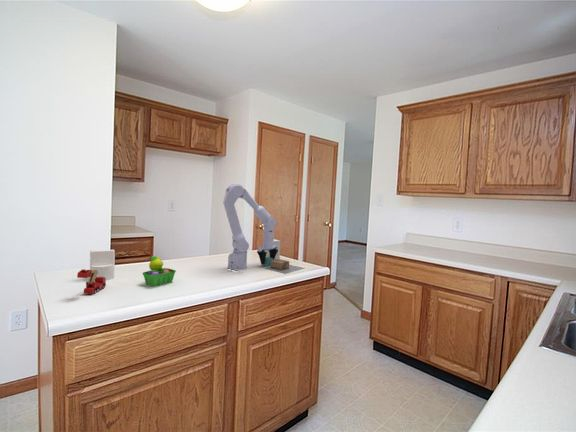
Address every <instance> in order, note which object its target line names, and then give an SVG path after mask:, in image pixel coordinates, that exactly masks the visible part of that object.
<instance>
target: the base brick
mask: <svg viewBox="0 0 576 432" xmlns="http://www.w3.org/2000/svg"><path fill="white" fill-rule="evenodd" d="M289 265H290V260H287V259H281V258H280V259H277V260H272V261H271V266H270V267H271V268H272V269H276V270H280V271H282V270H285V269H289Z"/></svg>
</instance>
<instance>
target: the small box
mask: <svg viewBox="0 0 576 432" xmlns="http://www.w3.org/2000/svg"><path fill="white" fill-rule="evenodd" d="M273 245H278V252H277V254H276V256H275V259H274V260H277V259H281V240H278V239H275V238H274V241H273ZM265 252H267V254H266V257H270V254H269V250H265Z"/></svg>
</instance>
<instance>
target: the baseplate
mask: <svg viewBox="0 0 576 432" xmlns="http://www.w3.org/2000/svg"><path fill="white" fill-rule="evenodd" d="M304 269H306V268H305V267H301V266H297V265H293V264H289V269H285V270H282V271H280V270H276V269H272V268H271V266H269V267H266V268H264V270H267V271H271V272H272V271H273V272H276V273H280V274H284V275H287V274H290V273H293V272H297V271H300V270H304Z"/></svg>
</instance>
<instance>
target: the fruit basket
mask: <svg viewBox="0 0 576 432" xmlns="http://www.w3.org/2000/svg"><path fill="white" fill-rule="evenodd" d="M163 266H164V261H162V259H161V258H159V256H157V255H153V256H151V257H150V261H149V267H148V268H149V270H147V271H143V272H142V276H143V278H144V282H145V285H146V286H149V287H153V288H155V287H157V286H162V285H166V284H170V283H173V279H174V276H175V274H176V273H177V270H175V269H172V268H169V267H163Z"/></svg>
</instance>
